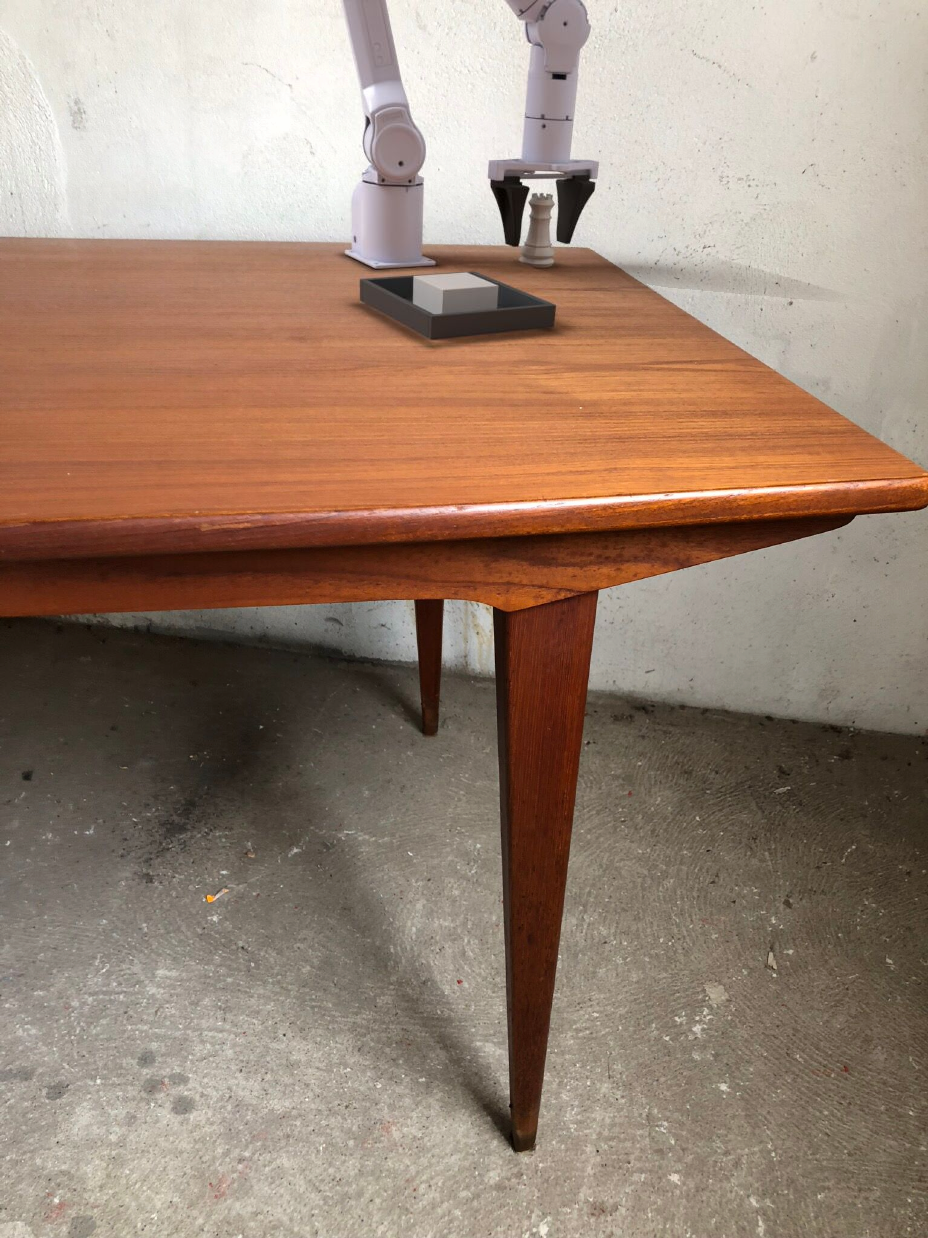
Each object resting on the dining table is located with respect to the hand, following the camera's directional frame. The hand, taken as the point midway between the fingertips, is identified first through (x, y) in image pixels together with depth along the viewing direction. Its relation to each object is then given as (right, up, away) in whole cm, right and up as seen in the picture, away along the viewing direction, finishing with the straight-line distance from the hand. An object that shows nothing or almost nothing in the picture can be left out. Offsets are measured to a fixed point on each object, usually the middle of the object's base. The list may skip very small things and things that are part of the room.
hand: (538, 243), depth 112 cm
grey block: (-10, -16, -24) cm, 31 cm away
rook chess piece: (0, -2, +1) cm, 3 cm away
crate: (-10, -17, -23) cm, 31 cm away
